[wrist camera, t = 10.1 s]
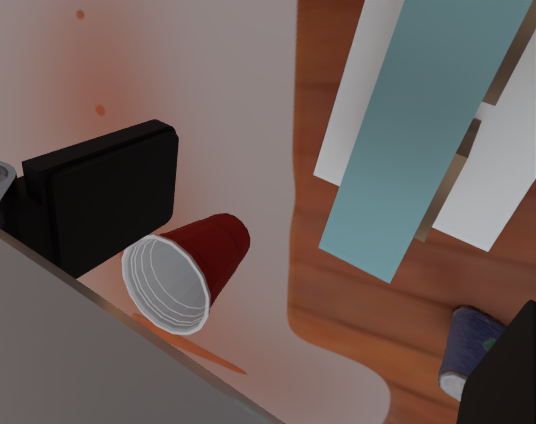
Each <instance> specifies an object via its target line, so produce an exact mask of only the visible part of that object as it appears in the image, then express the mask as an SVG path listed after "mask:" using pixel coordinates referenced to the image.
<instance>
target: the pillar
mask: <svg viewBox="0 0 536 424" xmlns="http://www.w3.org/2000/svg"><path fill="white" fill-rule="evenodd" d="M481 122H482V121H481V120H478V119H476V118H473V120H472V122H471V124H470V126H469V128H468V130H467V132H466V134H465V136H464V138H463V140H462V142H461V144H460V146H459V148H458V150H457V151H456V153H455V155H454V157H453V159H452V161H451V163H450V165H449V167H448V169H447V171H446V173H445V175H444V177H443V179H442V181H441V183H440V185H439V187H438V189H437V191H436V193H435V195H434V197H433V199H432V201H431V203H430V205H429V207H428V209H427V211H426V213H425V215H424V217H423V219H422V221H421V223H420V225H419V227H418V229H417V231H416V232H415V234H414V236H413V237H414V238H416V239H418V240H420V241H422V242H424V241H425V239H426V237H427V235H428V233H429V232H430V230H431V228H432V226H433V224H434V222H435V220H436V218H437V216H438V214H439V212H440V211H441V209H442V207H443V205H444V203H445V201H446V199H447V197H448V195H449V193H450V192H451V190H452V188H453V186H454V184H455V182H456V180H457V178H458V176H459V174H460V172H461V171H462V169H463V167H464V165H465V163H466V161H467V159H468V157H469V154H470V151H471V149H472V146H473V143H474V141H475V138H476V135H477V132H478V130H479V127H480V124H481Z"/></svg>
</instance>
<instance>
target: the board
mask: <svg viewBox="0 0 536 424" xmlns="http://www.w3.org/2000/svg"><path fill="white" fill-rule="evenodd" d="M404 1H405V0H365V3H364V6H363V9H362V13H361V16H360V19H359V23H358V26H357V29H356V33H355V36H354V40H353V43H352V46H351V50H350V53H349V56H348V60H347V63H346V66H345V70H344V73H343V77H342V80H341V83H340V87H339V90H338V93H337V97H336V100H335V103H334V107H333V110H332V114H331V117H330V120H329V124H328V127H327V130H326V134H325V137H324V140H323V144H322V147H321V151H320V154H319V157H318V161H317V164H316V167H315V171H314V174H313V175H315V176H317V177H320V178H322V179H324V180H326V181H329V182H331V183H333V184H335V185H338V186H340V184H341V181H342V178H343V176H344V173H345V170H346V167H347V164H348V161H349V158H350V155H351V153H352V150H353V147H354V144H355V141H356V138H357V135H358V133H359V130H360V127H361V124H362V121H363V118H364V115H365V112H366V110H367V107H368V104H369V101H370V98H371V95H372V92H373V90H374V87H375V84H376V81H377V78H378V75H379V72H380V69H381V67H382V64H383V61H384V58H385V55H386V52H387V49H388V46H389V44H390V41H391V38H392V35H393V32H394V29H395V26H396V24H397V21H398V18H399V15H400V12H401V9H402V6H403V3H404ZM474 118H476V119H478V120H481V121H482V122H481V124H480V127H479V130H478V132H477V135H476V138H475V141H474V143H473V146H472V149H471V151H470V154H469V157H468V159H467V161H466V163H465V165H464V167H463V169H462V171H461V172H460V174H459V176H458V178H457V180H456V182H455V184H454V186H453V188H452V190H451V192H450V193H449V195H448V197H447V199H446V201H445V203H444V205H443V207H442V209H441V211H440V212H439V214H438V216H437V218H436V220H435V222H434V224H433V226H432V227H433V228H435V229H437V230H440V231H442V232H444V233H446V234H449V235H451V236H453V237H455V238H458V239H460V240H462V241H464V242H467V243H469V244H471V245H473V246H476V247H478V248H480V249H483V250H485V251H487V252H488V251H489V250H490V248H491V246H492V245H493V243H494V242H495V240H496V239H497V237H498V236H499V234H500V233H501V231H502V229H503V228H504V226H505V225H506V223H507V222H508V220H509V219H510V217H511V216H512V214H513V212H514V211H515V209H516V208H517V206H518V205H519V203H520V202H521V200H522V199H523V197H524V195H525V194H526V192H527V191H528V189H529V188H530V186H531V185H532V183H533V182H534V180H535V178H536V29H535V31H534V33H533V35H532V37H531V39H530V41H529V43H528V45H527V47H526V49H525V50H524V52H523V54H522V56H521V58H520V60H519V62H518V64H517V66H516V68H515V69H514V71H513V73H512V75H511V77H510V79H509V81H508V83H507V85H506V87H505V89H504V90H503V92H502V94H501V96H500V98H499V100H498V102H497V104H496V106H493V105H490V104H487V103H484V102H481V104H480V106H479V108H478V110H477V112H476V114H475V116H474Z"/></svg>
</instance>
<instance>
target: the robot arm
mask: <svg viewBox="0 0 536 424" xmlns="http://www.w3.org/2000/svg"><path fill="white" fill-rule="evenodd" d="M178 143H179V138H178V136H177V134H176V131H175V129H174V128H173V127H172V126H170V125H168V124H165V123H163V122H161V121H159V120H156V119H155V120H150V121H147V122H144V123H141V124H137V125H135V126H131V127H128V128H125V129H122V130H119V131H116V132H113V133H110V134H106V135H103V136H100V137H97V138H94V139H91V140H88V141H85V142H81V143H79V144H75V145H72V146H69V147H66V148H63V149H60V150H57V151H53V152H50V153H47V154H44V155H41V156H38V157H35V158H32V159H29V160H25V161H23V162H22V167H23V173H24V176H22V177H19V178H17V174H16V171H15V169H14V168H13V167H12V166H11V165H9V164H7V163H4V162H1V161H0V424H285V423H283V422H282V421H281V420H279V419H278V418H276V417H275V416H273V415H272V414H270V413H269V412H268V411H266V410H264V409H263V408H262V407H260V406H259V405H257V404H256V403H255V402H253V401H252V400H250V399H249V398H247V397H246V396H244V395H243V394H242V393H240V392H239V391H237V390H236V389H234V388H233V387H232V386H230V385H229V384H227V383H226V382H224V381H223V380H221V379H220V378H219V377H217V376H216V375H214V374H213V373H211V372H210V371H209V370H207V369H205V368H204V367H203V366H201V365H200V364H198V363H197V362H196V361H194V360H192V359H191V358H190V357H188V356H187V355H185V354H184V353H182V352H181V351H180V350H178V349H177V348H175V347H174V346H172V345H171V344H169V343H168V342H166V341H165V340H164V339H162V338H161V337H159V336H158V335H156V334H155V333H153V332H152V331H151V330H149V329H148V328H146V327H145V326H143V325H142V324H140V323H139V322H137V321H136V320H134V319H133V318H132V317H130V316H129V315H127V314H126V313H124V312H123V311H121V310H120V309H118V308H116V306H114V305H112V304H111V303H109V302H108V301H107V300H105V299H104V298H102V297H101V296H99V295H98V294H97V293H95V292H94V291H92V290H91V289H89V288H88V287H86V286H85V285H83V284H82V283H80V282H79V281H77V280H76V279H77V278H79V277H81V276H82V275H84V274H85V273H87V272H89V271H90V270H92V269H93V268H95V267H97V266H98V265H100V264H102V263H103V262H105V261H106V260H108V259H110V258H111V257H113V256H114V255H116V254H117V253H119V252H121V251H123V250H124V249H126V248H127V247H129V246H131V245H132V244H134V243H136V242H137V241H139V240H140V239H142V238H144V237H145V236H147V235H149V234H150V233H152V232H153V231H155V230H156V229H158V228H160V227H161V226H163V225H165V224H166V223H167V222H168V221H169V220H170V219H171V217H172V214H173V204H174V193H175V180H176V167H177V154H178ZM456 424H536V302H535V301H533V300H529V301H528V302H527V303H526V304H525V305H524V306H523V308H522V309H521V310H520V311H519V313H518V314H517V315H516V317H515V318H514V319H513V320H512V322H511V323H510V324H509V325H508V327H507V328H506V329H505V330H504V332H503V333H502V334H501V336H500V337H499V338H498V339H497V341H496V342H495V343H494V344H493V346H492V347H491V348H490V349H489V351H488V352H487V353H486V355H485V356H484V357H483V358H482V360H481V361H480V362H479V363H478V365H477V366H476V367H475V369H474V370H473V371H472V372H471V374H470V375H469V376H468V378H467V380H466V382H465V384H464V387H463V390H462V395H461V401H460V406H459V412H458V418H457V423H456Z"/></svg>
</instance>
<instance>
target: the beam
mask: <svg viewBox="0 0 536 424" xmlns="http://www.w3.org/2000/svg"><path fill="white" fill-rule="evenodd" d="M532 1H533V0H405V1H404V3H403V6H402V9H401V12H400V15H399V18H398V21H397V24H396V26H395V29H394V32H393V35H392V38H391V41H390V44H389V46H388V49H387V52H386V55H385V58H384V61H383V64H382V67H381V69H380V72H379V75H378V78H377V81H376V84H375V87H374V90H373V92H372V95H371V98H370V101H369V104H368V107H367V110H366V112H365V115H364V118H363V121H362V124H361V127H360V130H359V133H358V135H357V138H356V141H355V144H354V147H353V150H352V153H351V155H350V158H349V161H348V164H347V167H346V170H345V173H344V176H343V178H342V181H341V184H340V187H339V190H338V193H337V196H336V199H335V201H334V204H333V207H332V210H331V213H330V216H329V219H328V221H327V224H326V227H325V230H324V233H323V236H322V239H321V242H320V244H319V247H318V248H320V249H322V250H324V251H326V252H328V253H330V254H332V255H334V256H336V257H338V258H340V259H342V260H344V261H346V262H348V263H350V264H352V265H354V266H356V267H358V268H360V269H362V270H364V271H366V272H368V273H370V274H372V275H374V276H376V277H378V278H380V279H381V280H383V281H385V282H387V283H389V284H390V282H391V280H392V278H393V276H394V274H395V272H396V270H397V268H398V266H399V264H400V262H401V260H402V258H403V256H404V254H405V252H406V250H407V248H408V246H409V244H410V242H411V240H412V238H413V236H414V234H415V232H416V231H417V229H418V227H419V225H420V223H421V221H422V219H423V217H424V215H425V213H426V211H427V209H428V207H429V205H430V203H431V201H432V199H433V197H434V195H435V193H436V191H437V189H438V187H439V185H440V183H441V181H442V179H443V177H444V175H445V173H446V171H447V169H448V167H449V165H450V163H451V161H452V159H453V157H454V155H455V153H456V151H457V150H458V148H459V146H460V144H461V142H462V140H463V138H464V136H465V134H466V132H467V130H468V128H469V126H470V124H471V122H472V120H473V118H474V116H475V114H476V112H477V110H478V108H479V106H480V104H481V102H482V100H483V98H484V96H485V94H486V92H487V90H488V88H489V86H490V84H491V82H492V80H493V78H494V76H495V74H496V72H497V70H498V69H499V67H500V65H501V63H502V61H503V59H504V57H505V55H506V53H507V51H508V49H509V47H510V45H511V43H512V41H513V39H514V37H515V35H516V33H517V31H518V29H519V27H520V25H521V23H522V21H523V19H524V17H525V15H526V13H527V11H528V9H529V7H530V5H531V3H532Z"/></svg>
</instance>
